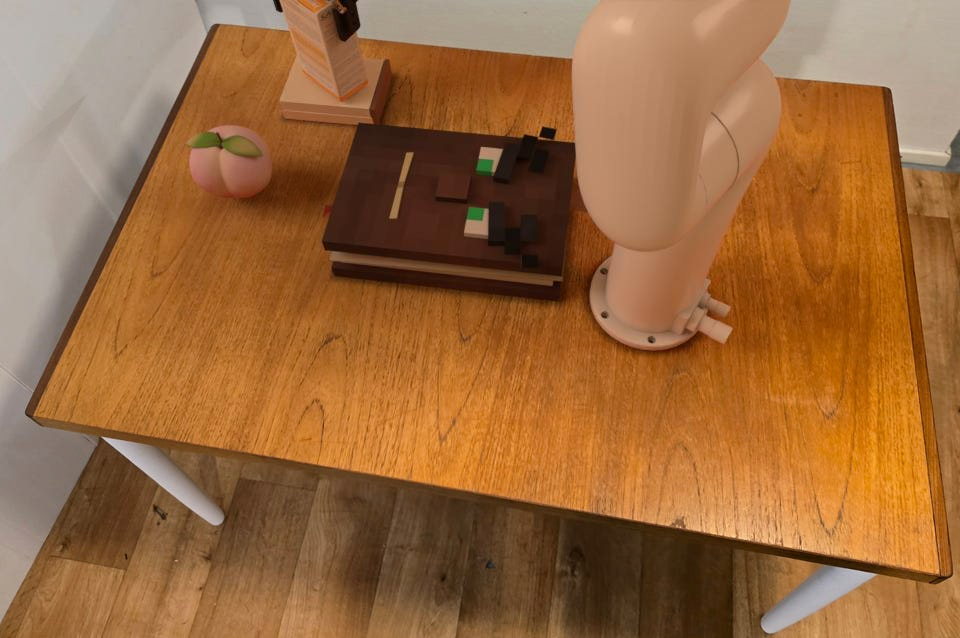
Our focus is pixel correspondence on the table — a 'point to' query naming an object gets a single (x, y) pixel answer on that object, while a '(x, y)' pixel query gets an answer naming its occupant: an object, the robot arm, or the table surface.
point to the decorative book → (454, 210)
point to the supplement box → (324, 47)
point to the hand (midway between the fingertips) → (318, 19)
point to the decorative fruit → (230, 161)
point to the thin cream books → (319, 105)
